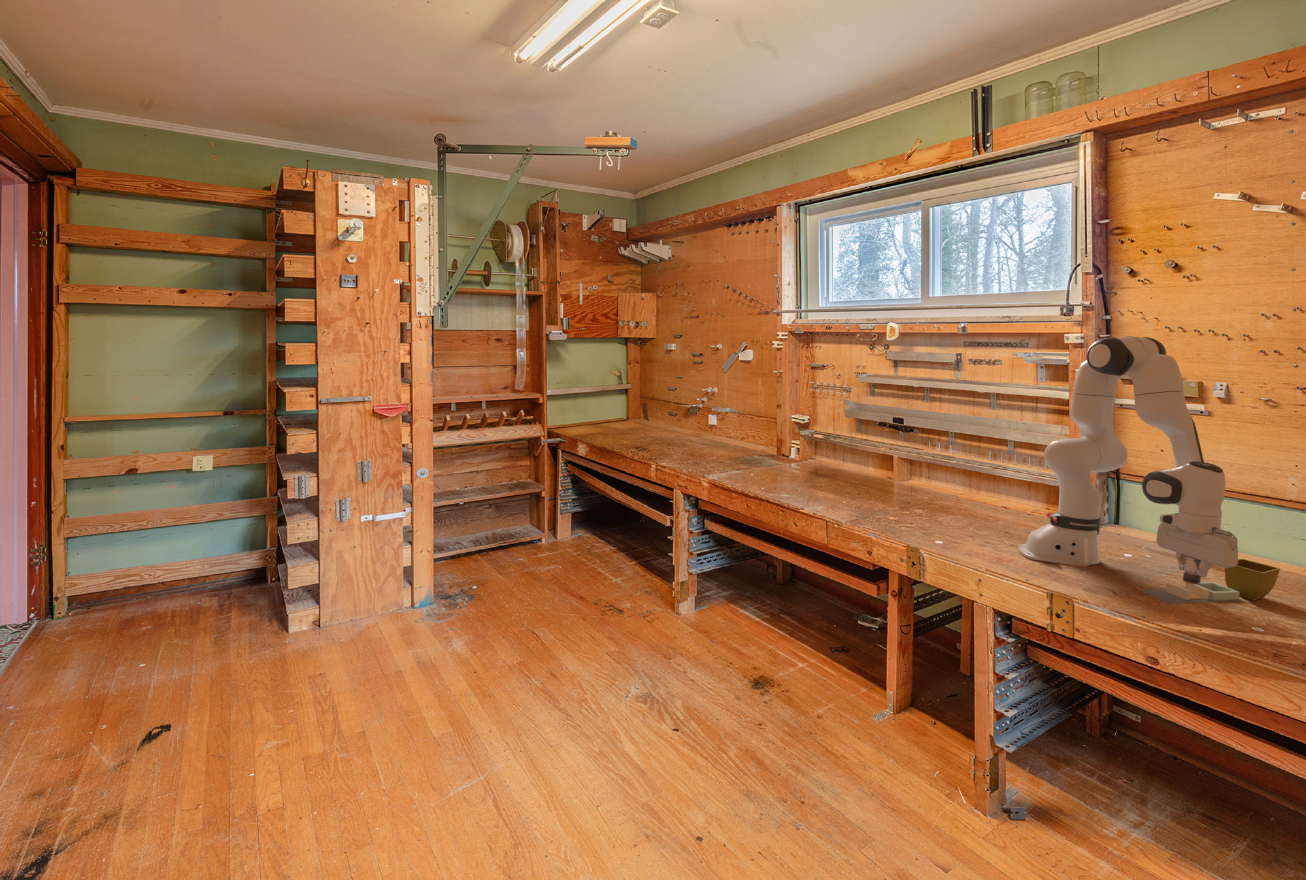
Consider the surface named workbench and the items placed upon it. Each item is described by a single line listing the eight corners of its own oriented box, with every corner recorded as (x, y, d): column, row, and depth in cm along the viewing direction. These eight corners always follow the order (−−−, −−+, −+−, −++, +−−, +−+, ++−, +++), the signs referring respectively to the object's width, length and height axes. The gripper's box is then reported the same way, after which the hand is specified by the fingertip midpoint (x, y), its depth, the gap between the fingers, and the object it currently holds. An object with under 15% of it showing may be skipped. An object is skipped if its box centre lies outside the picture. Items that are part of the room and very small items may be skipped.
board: (1168, 607, 169) (1168, 603, 169) (1135, 592, 179) (1136, 589, 179) (1242, 604, 172) (1243, 601, 171) (1206, 590, 181) (1207, 586, 181)
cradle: (1185, 599, 172) (1187, 591, 171) (1165, 591, 178) (1166, 582, 177) (1208, 599, 172) (1210, 590, 172) (1187, 590, 178) (1189, 581, 178)
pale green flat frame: (1213, 600, 172) (1214, 593, 171) (1186, 589, 179) (1187, 582, 179) (1238, 599, 173) (1239, 592, 172) (1211, 588, 180) (1212, 581, 180)
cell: (1186, 583, 173) (1189, 556, 172) (1179, 579, 176) (1183, 552, 175) (1202, 585, 172) (1206, 558, 171) (1196, 580, 175) (1199, 554, 174)
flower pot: (1258, 605, 171) (1263, 572, 170) (1219, 593, 179) (1223, 562, 178) (1275, 600, 175) (1281, 568, 174) (1236, 588, 183) (1241, 558, 182)
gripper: (1249, 533, 162) (1241, 586, 164) (1174, 513, 182) (1169, 561, 184) (1226, 534, 161) (1219, 587, 163) (1154, 514, 181) (1149, 561, 183)
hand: (1192, 573), depth 173 cm, fingers closed on cell, 4 cm apart
